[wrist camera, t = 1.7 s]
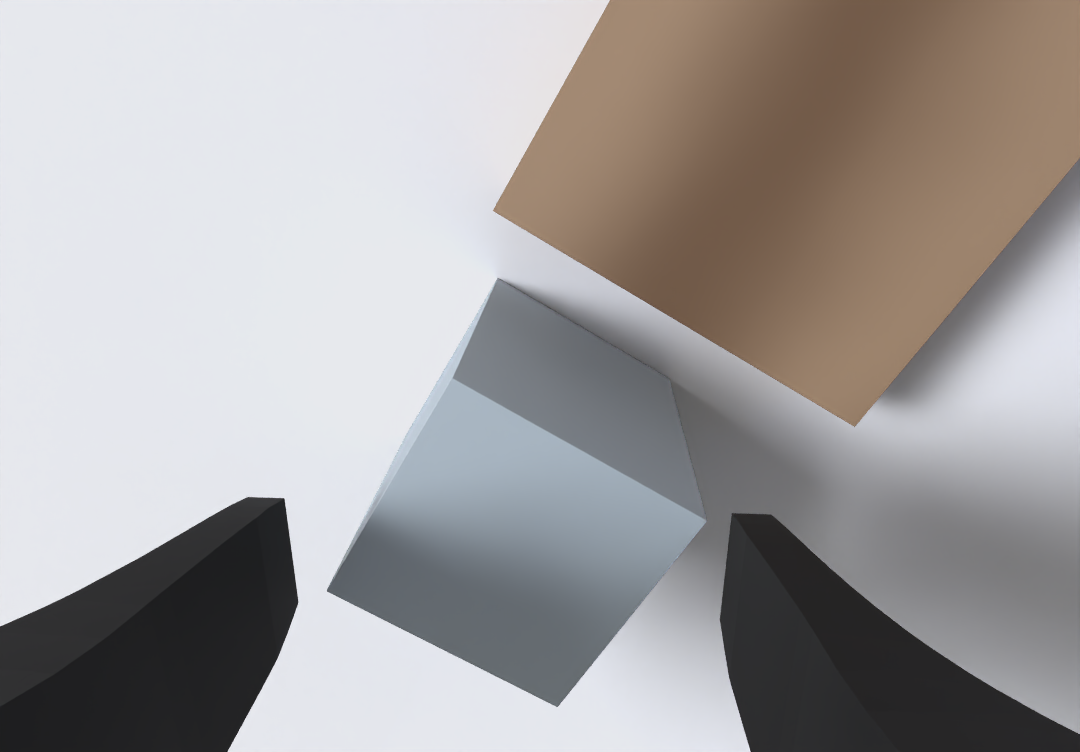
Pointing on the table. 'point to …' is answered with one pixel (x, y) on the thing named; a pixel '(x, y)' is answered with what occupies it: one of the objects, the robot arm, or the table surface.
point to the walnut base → (805, 168)
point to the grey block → (528, 500)
